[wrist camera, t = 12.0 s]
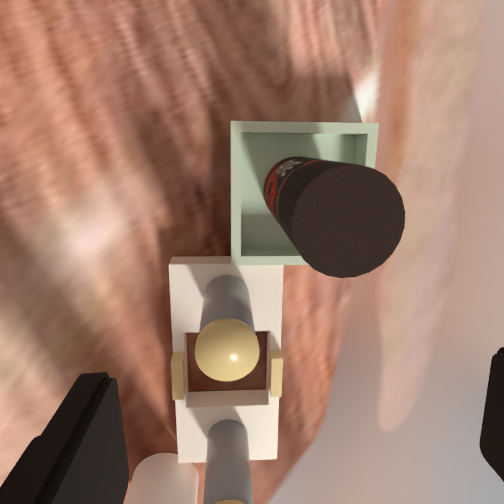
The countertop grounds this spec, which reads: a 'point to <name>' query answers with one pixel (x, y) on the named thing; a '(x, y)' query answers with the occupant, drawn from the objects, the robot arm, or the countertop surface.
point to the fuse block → (226, 368)
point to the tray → (262, 161)
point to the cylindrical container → (163, 481)
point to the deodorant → (336, 213)
